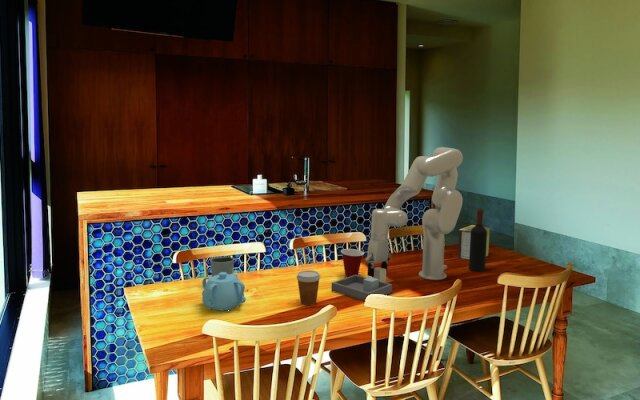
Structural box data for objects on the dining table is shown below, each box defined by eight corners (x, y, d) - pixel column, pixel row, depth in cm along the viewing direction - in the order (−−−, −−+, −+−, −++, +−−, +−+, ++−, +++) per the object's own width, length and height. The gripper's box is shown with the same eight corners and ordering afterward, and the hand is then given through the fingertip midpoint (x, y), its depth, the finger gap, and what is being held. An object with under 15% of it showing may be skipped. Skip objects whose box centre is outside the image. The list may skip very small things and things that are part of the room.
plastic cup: (362, 280, 240) (362, 254, 238) (338, 278, 242) (339, 253, 240) (365, 273, 250) (365, 248, 248) (342, 272, 252) (342, 247, 250)
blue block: (369, 290, 224) (370, 277, 223) (378, 293, 221) (378, 279, 220) (363, 293, 221) (363, 279, 220) (371, 295, 218) (372, 281, 217)
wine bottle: (467, 271, 255) (470, 209, 250) (469, 267, 262) (472, 207, 257) (484, 272, 252) (487, 211, 247) (485, 268, 259) (489, 208, 254)
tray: (355, 282, 237) (355, 274, 236) (391, 292, 223) (392, 284, 223) (331, 290, 225) (331, 282, 225) (368, 302, 212) (368, 293, 211)
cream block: (377, 279, 241) (378, 267, 240) (385, 281, 238) (386, 269, 237) (371, 281, 238) (372, 269, 237) (379, 284, 235) (380, 271, 234)
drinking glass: (206, 287, 229) (205, 260, 227) (218, 280, 238) (218, 255, 236) (227, 290, 225) (226, 263, 224) (238, 283, 235) (238, 257, 233)
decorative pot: (201, 301, 213) (200, 268, 210) (241, 297, 217) (240, 265, 215) (203, 316, 197) (202, 281, 195) (246, 311, 201) (246, 277, 199)
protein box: (488, 255, 283) (490, 227, 280) (475, 261, 271) (477, 232, 269) (470, 252, 290) (471, 224, 287) (457, 257, 278) (458, 229, 276)
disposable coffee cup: (301, 308, 205) (301, 278, 203) (293, 300, 214) (293, 271, 212) (324, 304, 209) (324, 275, 207) (314, 297, 217) (314, 269, 216)
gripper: (384, 233, 243) (382, 269, 246) (360, 238, 231) (358, 276, 233) (397, 235, 238) (395, 272, 241) (374, 241, 226) (372, 279, 228)
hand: (377, 274), depth 237 cm, fingers open, 9 cm apart
